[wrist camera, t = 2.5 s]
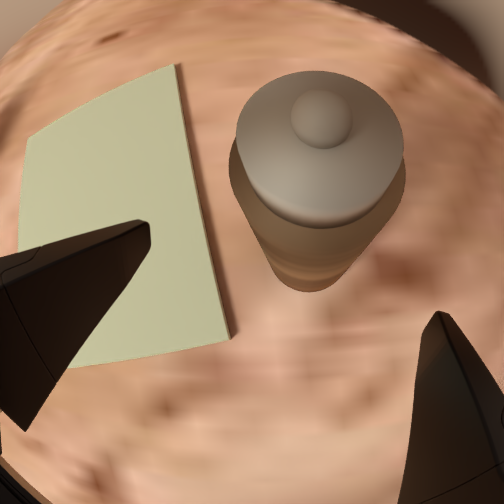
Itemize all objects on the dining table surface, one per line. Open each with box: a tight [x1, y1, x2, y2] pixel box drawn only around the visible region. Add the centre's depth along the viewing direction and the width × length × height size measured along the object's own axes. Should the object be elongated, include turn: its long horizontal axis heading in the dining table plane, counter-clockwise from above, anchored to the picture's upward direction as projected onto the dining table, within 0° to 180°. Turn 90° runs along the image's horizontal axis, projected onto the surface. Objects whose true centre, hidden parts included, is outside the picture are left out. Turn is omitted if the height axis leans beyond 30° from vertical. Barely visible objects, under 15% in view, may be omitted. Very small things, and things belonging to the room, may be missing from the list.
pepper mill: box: [229, 71, 405, 292], centre depth 12 cm, size 5×5×14 cm
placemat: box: [18, 63, 231, 368], centre depth 22 cm, size 24×18×1 cm
